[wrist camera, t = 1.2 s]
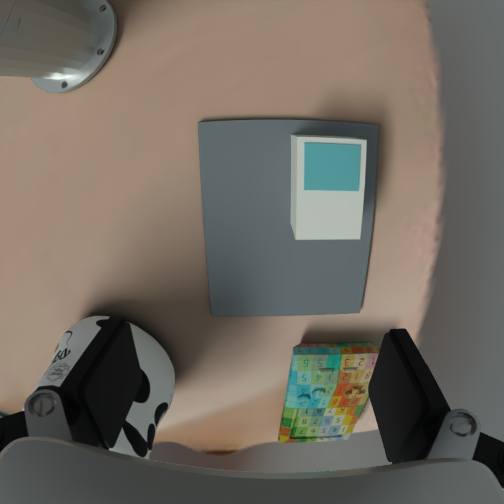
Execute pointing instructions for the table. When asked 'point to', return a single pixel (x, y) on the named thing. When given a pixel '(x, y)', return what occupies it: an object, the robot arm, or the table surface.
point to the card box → (327, 186)
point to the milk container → (148, 396)
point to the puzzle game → (326, 390)
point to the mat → (275, 223)
